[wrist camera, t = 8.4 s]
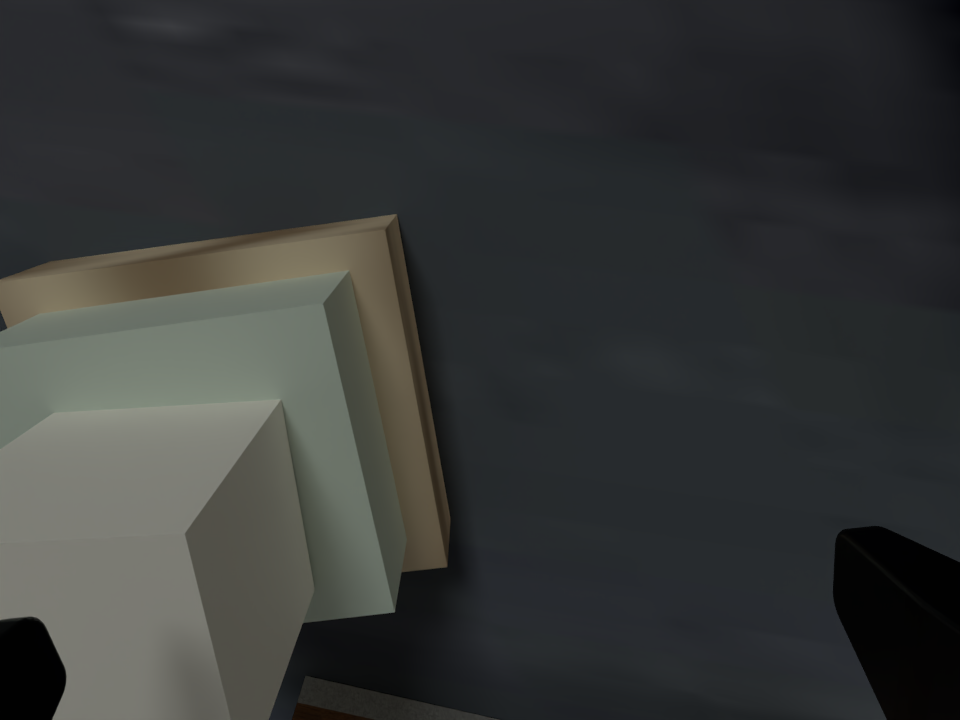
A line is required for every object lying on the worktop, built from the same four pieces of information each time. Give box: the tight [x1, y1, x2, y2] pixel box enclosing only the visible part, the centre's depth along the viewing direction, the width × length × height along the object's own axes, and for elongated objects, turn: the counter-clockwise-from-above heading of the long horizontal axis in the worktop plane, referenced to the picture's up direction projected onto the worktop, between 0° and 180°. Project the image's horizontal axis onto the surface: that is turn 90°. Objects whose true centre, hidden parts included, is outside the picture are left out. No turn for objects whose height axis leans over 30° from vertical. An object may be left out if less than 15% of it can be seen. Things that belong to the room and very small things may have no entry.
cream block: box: [0, 399, 315, 720], centre depth 13 cm, size 5×5×5 cm
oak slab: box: [0, 214, 451, 572], centre depth 20 cm, size 10×10×3 cm
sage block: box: [0, 270, 407, 623], centre depth 17 cm, size 8×8×3 cm
